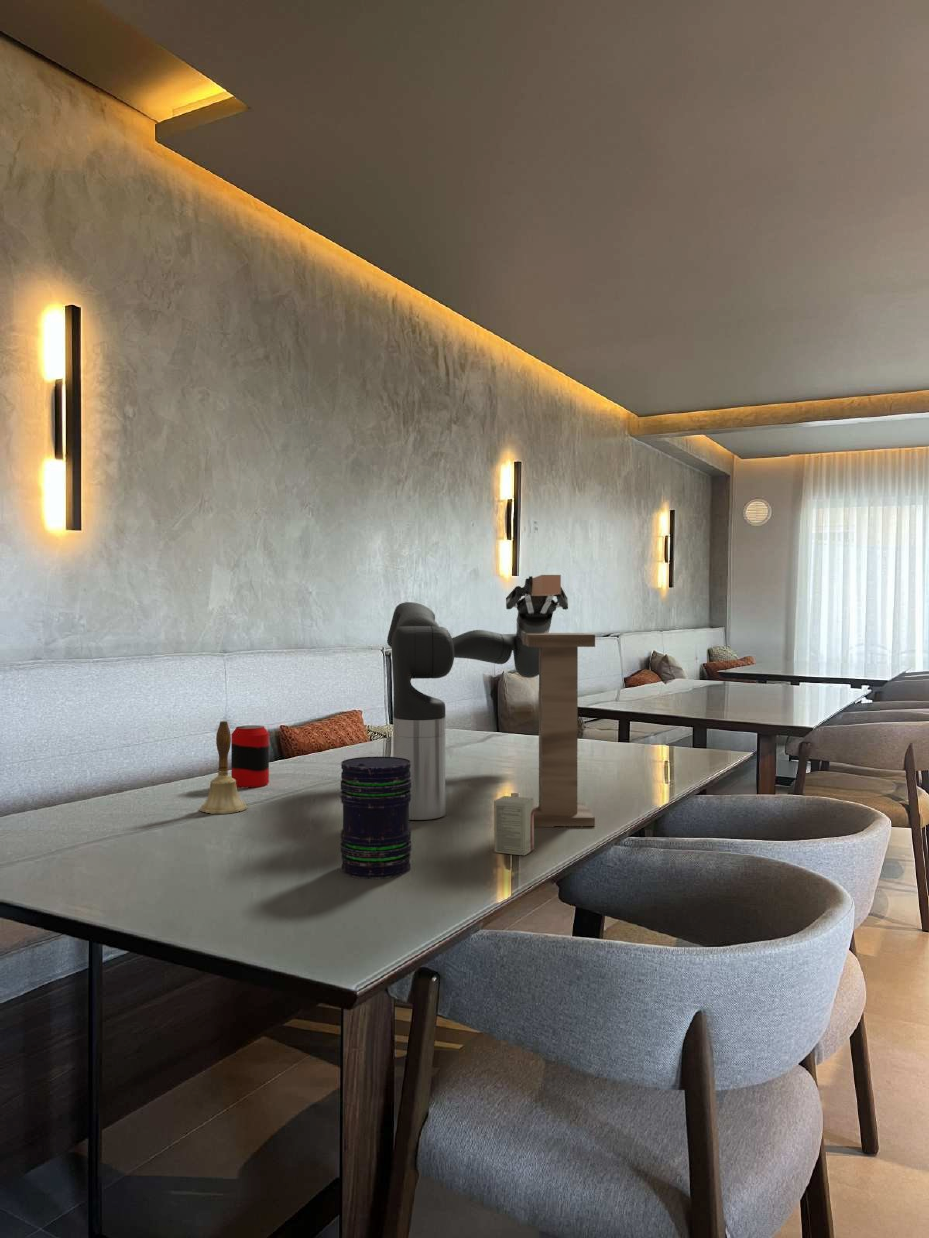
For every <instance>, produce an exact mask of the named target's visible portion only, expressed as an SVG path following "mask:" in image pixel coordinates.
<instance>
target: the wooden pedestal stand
mask: <svg viewBox="0 0 929 1238" xmlns="http://www.w3.org/2000/svg"><path fill="white" fill-rule="evenodd" d="M522 644H524V645H526V646H528V647H539V675H538V802H534V828H541V827H542V828H544V827H545V828H549V827H551V828H555V827H554V826H564V827H565V826H569V827H570V826H581V828H582V827H583V826H594V828H595V827H596V821H595V820H596V818H595V816H594V814H593V813H592V811H591V810H590V808H588V806H587V805H586V803H585V802H578V742H579V741H578V737H579V736H578V732H579V731H578V730H579V729H578V728H579V727H578V725H579V723H578V722H579V721H578V716H579V715H578V713H579V712H578V710H579V709H578V705H579V704H578V703H579V702H578V697H579V696H578V689H579V688H578V684H579V683H578V679H579V678H578V674H579V673H578V669H579V668H578V667H579V665H578V663H579V661H578V658H579V657H578V655H579V654H578V653H579V652H578V651H579V650H578V648H589V647H590V648H591V647H592V648H595V647H596V634H592V633H587V632H549V633H522ZM564 827H563V828H564ZM569 827H568V828H569Z"/></svg>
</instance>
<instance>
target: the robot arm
mask: <svg viewBox="0 0 929 1238" xmlns="http://www.w3.org/2000/svg"><path fill="white" fill-rule="evenodd" d="M532 578H534V577H533V575H528V578H526V579H525V582H524V585H523V587H521V586H520V585H519V586H517V585H516V586H515V587H514V588H513V589H512V590H511V592H510V593H508V595H507V597H506V598H505V608H506V610H512V609H513V608H516V610H517V616H516V633H506V634H505V633H499V632H493V631H488V630H485V629H475V630H474V629H473V630H470V631H466V632H464V633H461V634H459V635H456V636H453V637H452V635H451V633H450V631H449V630H448V629H447V627H444V626H440V625H439V624H438V623H437V622H436V615H435V613H434V611H432V610H431V608H428V607H427V606H426V605H423V604H421V603H417V602H413V601H412V602H411V601H409V602H408V601H407V602H401V603H399V604H398V605H397V606H396V607H395V609H394V611H393V615H392V619H391V622H390V626H389V630H388V634H387V637H386V638H387V639H386V641H387V645H388V646H389V647H390V648H391V664H392V665H391V666H392V683H393V684H392V686H393V687H392V688H393V691H392V692H393V702H392V703H393V706H392V710H393V712H392V717H393V718H392V722H393V725H392V732H393V733H392V757H398V758H404V759H408V760H410V761H411V767H410V772H411V778H410V779H411V789H410V790H411V801H410V802H409V821H411V820H414V821H422V820H425V821H427V820H434V819H439V818H442V817H444V816H446V805H447V804H446V803H447V801H446V704H445V702H444V700H441V699H440V698H436V697H433V696H431V695H427V694H426V693H423V692H421V691H420V690H418V689H416V687H414V686H413V685H412V681H411V680H412V679H416V680H417V679H421V680H422V679H440V678H444V677H447V675H449V673H450V672H451V670H452V668H453V665H454V662H455V661H454V660H455V659H470V660H474V661H480V662H486V663H491V664H496V665H503V664H506V663H507V662H508V661H509V660H510V659H511V656H512V653H513V662H514V668H515V670H516V673H518V675H520V676H521V677H523V678H526V679H527V678H528V679H530V678H535V677H537V676H538V677H539V647H528V646H526V645H524V644H522V633H550V631H551V623H552V620H553V614H554V612H555V611H556V610H557V609H558V608H561V609H562V610H564V611H565V610H569V601H568V600H569V599H568V596H567V595H566V593H565V590H564V589H563V588H562V586H561V594H556V595H549V596H531V595H530V594H531V592H532V585H533V582H532ZM554 597H555V598H556V601H555V600H554V599H553V598H554Z"/></svg>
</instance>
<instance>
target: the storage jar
mask: <svg viewBox="0 0 929 1238" xmlns="http://www.w3.org/2000/svg"><path fill="white" fill-rule="evenodd" d="M340 764H341V765H340V767H341V768H340V769H342V771H341V773H340V774H341V778H340V779H341V780H340V790H341V791H340V802H341V804H342V829H341V831H340V840H341V841H340V853H341V856H340V857H341V861H342V863H341V866H340V867H341V873H342V874H344V875H346V876H348V877H352V878H357V879H366V880H367V879H371V880H372V879H373V880H375V879H377V880H378V879H390V878H393V877H394V878H396V877H400V876H402V875H404V874H407V873H409V872H410V870H411V869H412V868H411V864H412V863H411V862H410V861H411V860H410V859H411V857H412V856H411V852H412V841H411V839H412V829H411V828H410V820H409V802H410V801H411V790H410V789H411V779H410V778H411V772H410V767H411V761H410V760H408V759H404V758H398V757H393V756H361V757H359V756H358V757H351V758H348V759H343V760H342V761H341V763H340Z"/></svg>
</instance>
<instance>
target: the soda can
mask: <svg viewBox="0 0 929 1238" xmlns="http://www.w3.org/2000/svg"><path fill="white" fill-rule="evenodd" d="M230 734H231V745H230V749H231V752H230V753H231V755H230V757H231V759H230V760H231V766H230V767H231V772H230V773H231V776H230V777H231V778H234V779H235V780H236V786H237V787H257V788H262V787H261V786H263V787H265V786H264V785H266V786H268V784H269V782H270V761H269V760H270V741H269V739H270V735H269V734H270V733H269V731H268V730H267V728H266V727H265V726H264V725H252V724H251V725H240V726H239V725H238V726H236V728H235V729H233V731H232V733H230Z"/></svg>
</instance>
